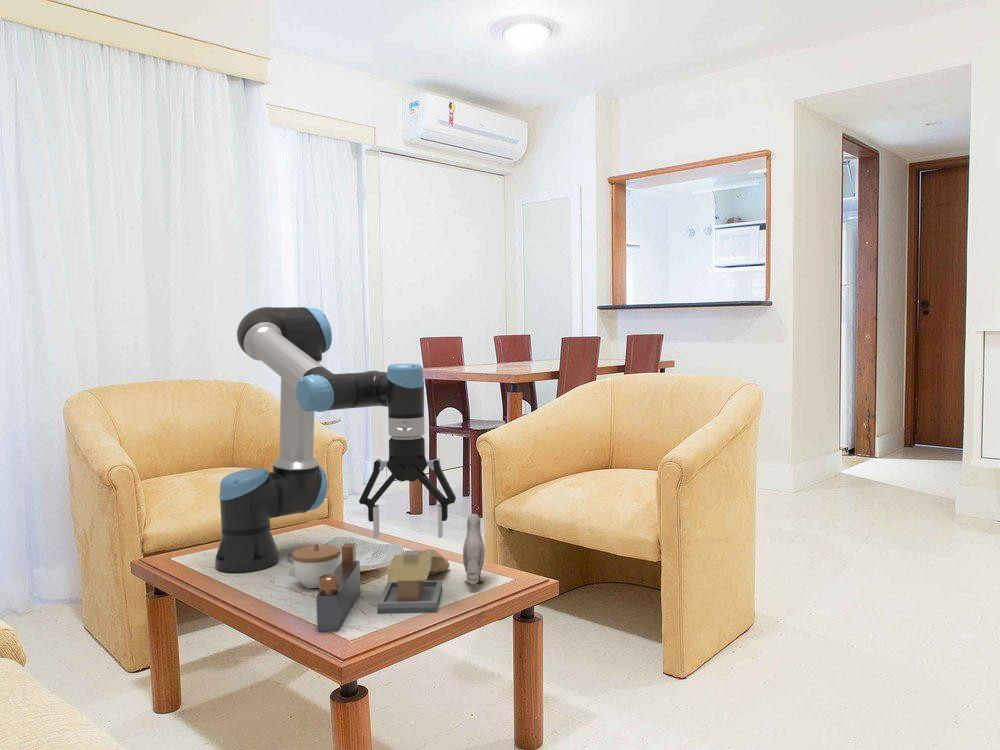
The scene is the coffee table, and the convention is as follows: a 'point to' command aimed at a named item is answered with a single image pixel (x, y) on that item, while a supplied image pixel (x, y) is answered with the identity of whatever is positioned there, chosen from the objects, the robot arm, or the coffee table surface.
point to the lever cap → (409, 566)
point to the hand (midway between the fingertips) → (408, 536)
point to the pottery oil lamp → (436, 561)
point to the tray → (410, 605)
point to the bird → (473, 550)
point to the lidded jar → (315, 563)
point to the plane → (338, 591)
